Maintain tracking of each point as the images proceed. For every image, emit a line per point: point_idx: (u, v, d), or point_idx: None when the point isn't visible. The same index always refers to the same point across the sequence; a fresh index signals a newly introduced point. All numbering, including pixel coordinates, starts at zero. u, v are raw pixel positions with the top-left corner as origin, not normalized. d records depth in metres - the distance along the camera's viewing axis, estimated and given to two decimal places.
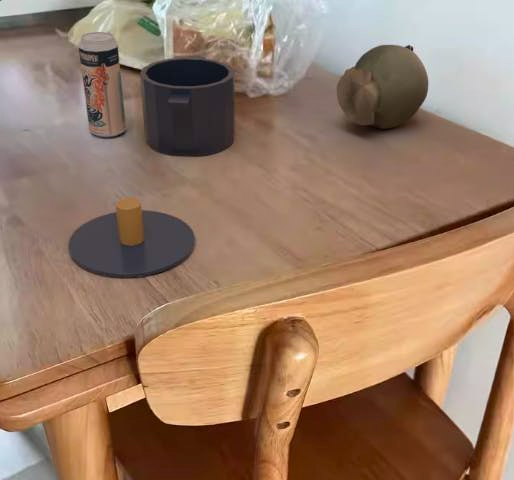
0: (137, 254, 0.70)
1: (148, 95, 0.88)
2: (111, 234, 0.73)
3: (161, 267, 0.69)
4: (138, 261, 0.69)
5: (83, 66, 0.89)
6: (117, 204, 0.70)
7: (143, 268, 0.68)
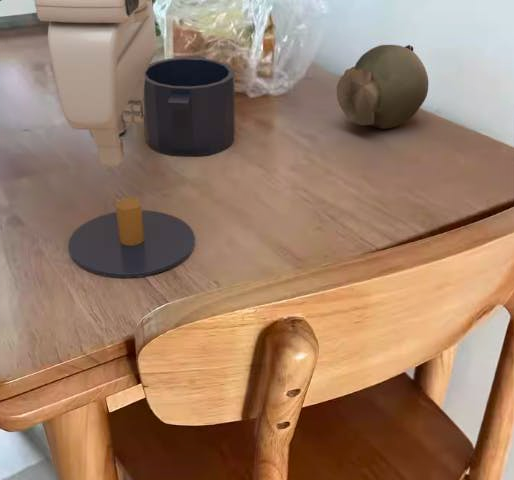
0: (137, 254, 0.70)
1: (148, 95, 0.88)
2: (111, 234, 0.73)
3: (161, 267, 0.69)
4: (138, 261, 0.69)
5: None
6: (117, 204, 0.70)
7: (143, 268, 0.68)
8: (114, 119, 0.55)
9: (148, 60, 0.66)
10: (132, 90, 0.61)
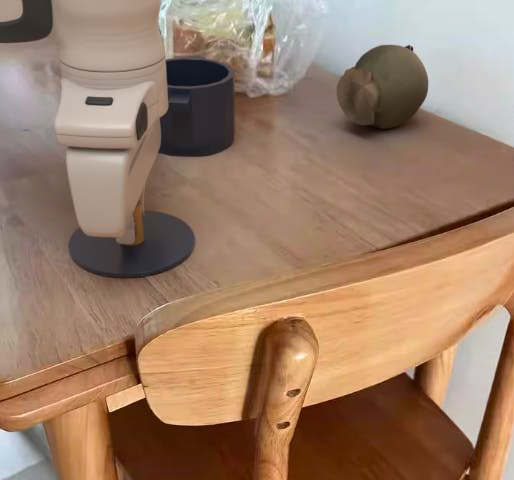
0: (137, 254, 0.70)
1: None
2: None
3: (161, 267, 0.69)
4: (138, 261, 0.69)
5: None
6: None
7: (143, 268, 0.68)
8: (124, 229, 0.61)
9: (154, 157, 0.72)
10: (140, 193, 0.67)
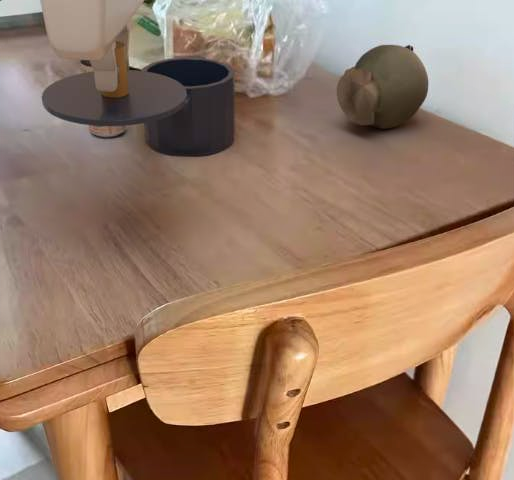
0: (120, 105, 0.61)
1: None
2: (91, 88, 0.64)
3: (147, 116, 0.60)
4: (121, 110, 0.60)
5: (83, 66, 0.89)
6: None
7: (127, 116, 0.59)
8: (103, 48, 0.52)
9: None
10: (123, 24, 0.57)
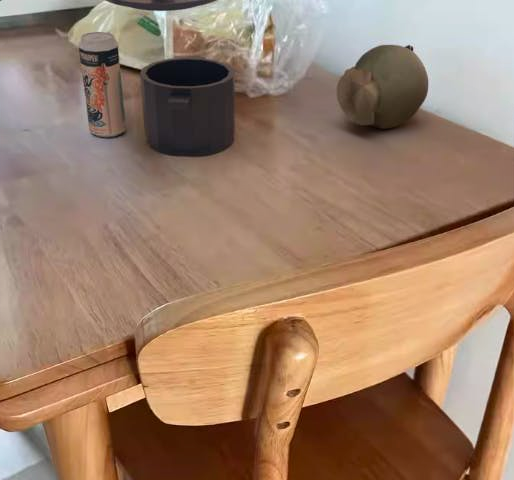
0: None
1: (148, 95, 0.88)
2: None
3: (192, 1, 0.70)
4: None
5: (83, 66, 0.89)
6: None
7: (174, 1, 0.70)
8: None
9: None
10: None
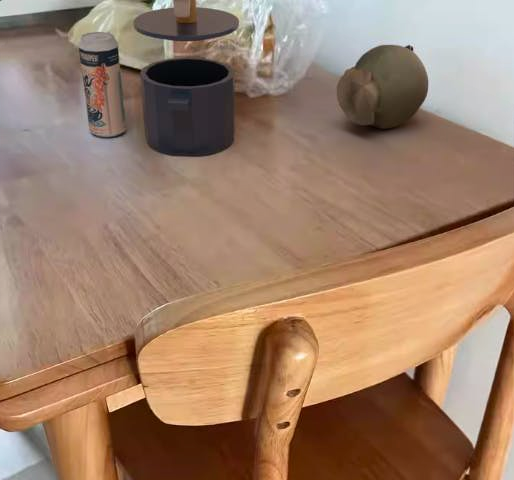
0: (192, 27, 0.84)
1: (148, 95, 0.88)
2: (168, 18, 0.87)
3: (213, 33, 0.82)
4: (193, 30, 0.83)
5: (83, 66, 0.89)
6: None
7: (198, 33, 0.82)
8: None
9: None
10: None
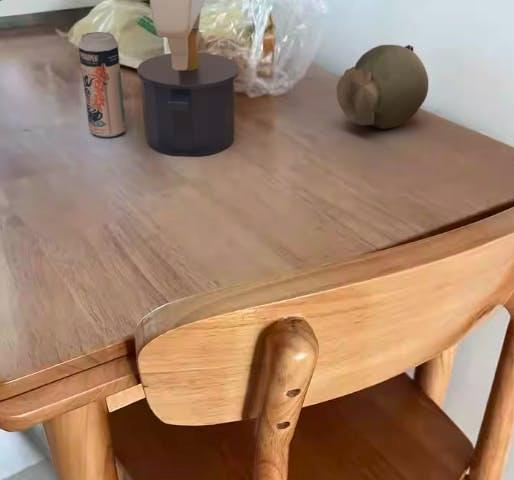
0: (194, 75, 0.87)
1: (148, 95, 0.88)
2: (171, 65, 0.90)
3: (214, 82, 0.85)
4: (195, 78, 0.86)
5: (83, 66, 0.89)
6: None
7: (200, 82, 0.85)
8: (189, 29, 0.77)
9: None
10: (197, 14, 0.83)
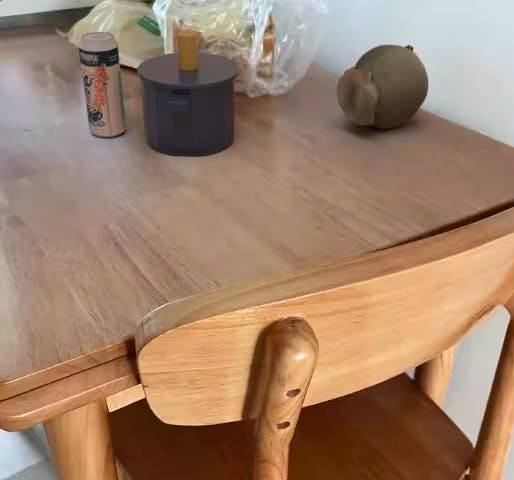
0: (194, 75, 0.87)
1: (148, 95, 0.88)
2: (171, 65, 0.90)
3: (214, 82, 0.85)
4: (195, 78, 0.86)
5: (83, 66, 0.89)
6: (178, 33, 0.87)
7: (200, 82, 0.85)
8: None
9: None
10: None
